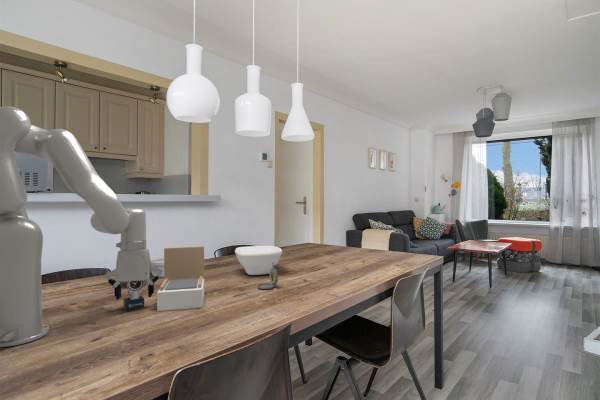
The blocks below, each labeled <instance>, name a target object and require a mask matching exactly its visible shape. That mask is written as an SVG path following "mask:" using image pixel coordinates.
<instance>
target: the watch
mask: <svg viewBox="0 0 600 400" xmlns="http://www.w3.org/2000/svg"><path fill="white" fill-rule="evenodd" d="M144 284H145V285H146V283H145V282H143V281H128V282H126V288H127V291H128V292H127V293H128V297H126V298H125V297H124V298H123V310H124V311H125V312H131V311H137V310H140V309H145V298H144V297H143V295H141V293H142V290H143V287H144Z"/></svg>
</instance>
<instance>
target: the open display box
mask: <svg viewBox="0 0 600 400" xmlns="http://www.w3.org/2000/svg"><path fill="white" fill-rule="evenodd" d="M163 250H164V251H163V255H164V256H163V258H164V277H163V278H164V280H163V282H162V283H161V285H160V286H159V289H158V291H157V297H156V301H157V304H156V305H157V306H156V307H157V309H156V311H157V312H160V311H161V312H163V311H176V310H187V309H188V310H189V309H198V308H199V309H200V308H203V307H204V299H205V246H182V247H181V246H180V247H178V246H177V247H164V249H163Z"/></svg>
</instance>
